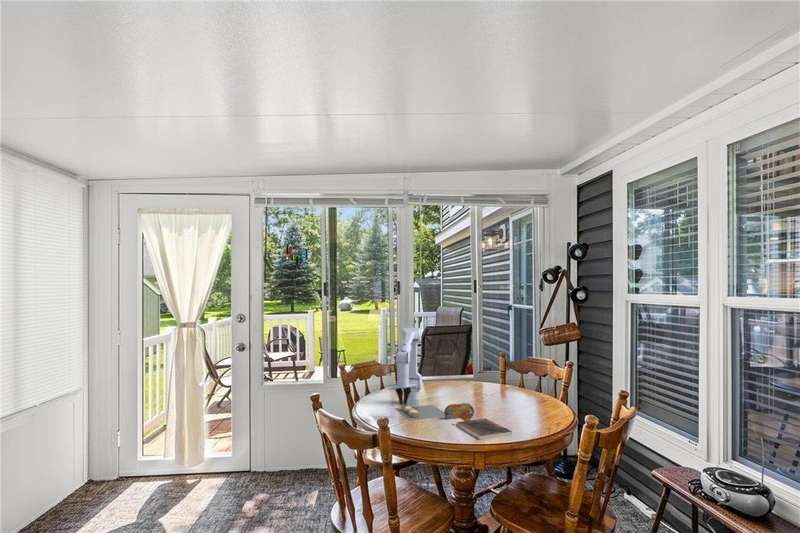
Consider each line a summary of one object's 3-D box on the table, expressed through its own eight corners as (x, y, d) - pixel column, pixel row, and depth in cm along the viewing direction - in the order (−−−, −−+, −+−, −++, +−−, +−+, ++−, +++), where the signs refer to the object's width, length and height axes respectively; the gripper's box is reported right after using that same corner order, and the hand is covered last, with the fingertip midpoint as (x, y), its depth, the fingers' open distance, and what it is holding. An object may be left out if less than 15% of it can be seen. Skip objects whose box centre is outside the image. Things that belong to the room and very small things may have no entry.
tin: (445, 422, 217) (445, 405, 217) (443, 421, 220) (443, 403, 220) (474, 420, 221) (474, 403, 221) (471, 418, 224) (471, 401, 224)
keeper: (414, 407, 239) (414, 400, 239) (418, 407, 239) (418, 400, 239) (413, 412, 230) (413, 404, 230) (418, 412, 230) (418, 404, 230)
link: (401, 408, 236) (401, 402, 236) (408, 407, 237) (408, 401, 237) (412, 417, 220) (412, 410, 220) (420, 416, 221) (420, 410, 221)
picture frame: (512, 436, 199) (486, 423, 219) (512, 431, 199) (485, 417, 219) (480, 441, 193) (456, 426, 213) (480, 435, 193) (456, 421, 213)
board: (394, 411, 237) (394, 408, 237) (432, 407, 244) (432, 404, 244) (409, 423, 216) (409, 420, 216) (449, 418, 223) (449, 415, 223)
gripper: (391, 378, 216) (391, 406, 215) (419, 376, 220) (419, 404, 220) (387, 375, 222) (387, 403, 222) (414, 373, 227) (414, 400, 226)
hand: (403, 403), depth 221 cm, fingers closed
